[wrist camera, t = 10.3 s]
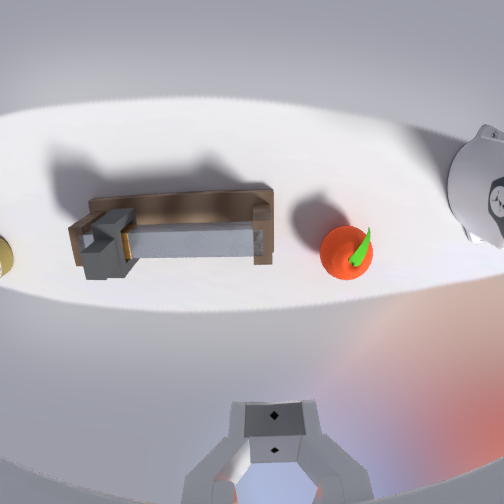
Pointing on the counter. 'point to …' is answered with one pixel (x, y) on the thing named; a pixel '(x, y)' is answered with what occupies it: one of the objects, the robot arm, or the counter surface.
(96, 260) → the grey clamp
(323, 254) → the clementine
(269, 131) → the counter surface
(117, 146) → the counter surface
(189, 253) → the grey metal bar
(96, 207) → the base
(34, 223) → the counter surface
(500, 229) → the robot arm
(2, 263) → the paper tube
